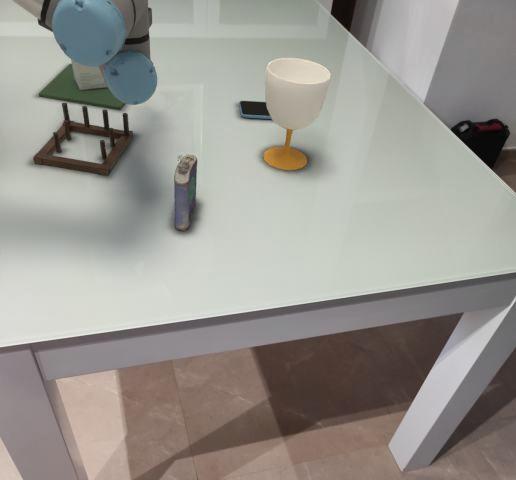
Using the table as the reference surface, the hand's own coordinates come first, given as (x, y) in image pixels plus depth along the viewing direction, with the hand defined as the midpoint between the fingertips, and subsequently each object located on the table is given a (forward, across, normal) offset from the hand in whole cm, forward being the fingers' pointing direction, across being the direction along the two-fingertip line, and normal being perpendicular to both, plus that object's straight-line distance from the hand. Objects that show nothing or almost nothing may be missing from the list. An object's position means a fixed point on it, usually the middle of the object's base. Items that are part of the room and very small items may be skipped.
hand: (88, 1), depth 97 cm
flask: (-44, +6, -19) cm, 48 cm away
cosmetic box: (+9, +1, -19) cm, 21 cm away
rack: (-18, -6, -19) cm, 27 cm away
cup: (-29, +31, -19) cm, 47 cm away
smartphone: (-10, +37, -19) cm, 43 cm away
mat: (+9, 0, -19) cm, 21 cm away
